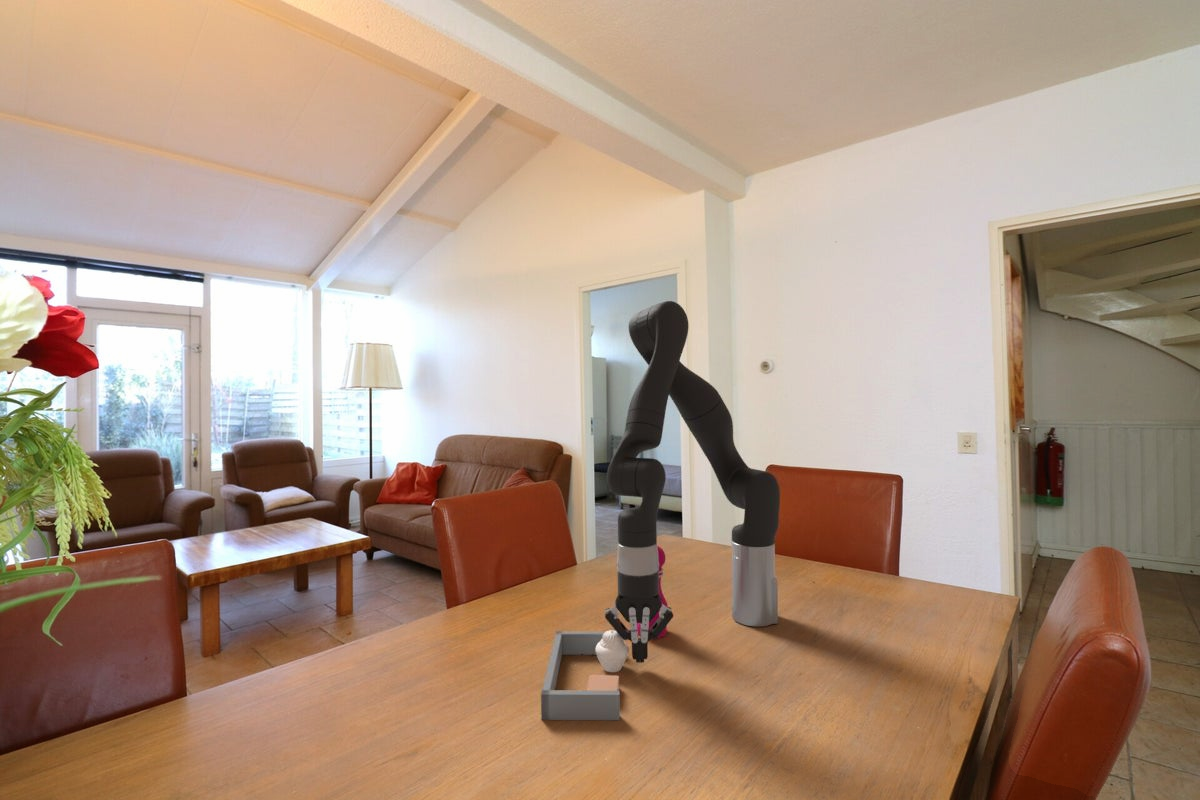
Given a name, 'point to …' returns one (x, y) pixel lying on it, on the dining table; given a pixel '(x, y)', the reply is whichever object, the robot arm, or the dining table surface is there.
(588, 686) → the block
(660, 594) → the pepper mill
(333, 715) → the dining table surface
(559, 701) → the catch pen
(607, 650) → the white rounded ceramic piece
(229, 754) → the dining table surface
